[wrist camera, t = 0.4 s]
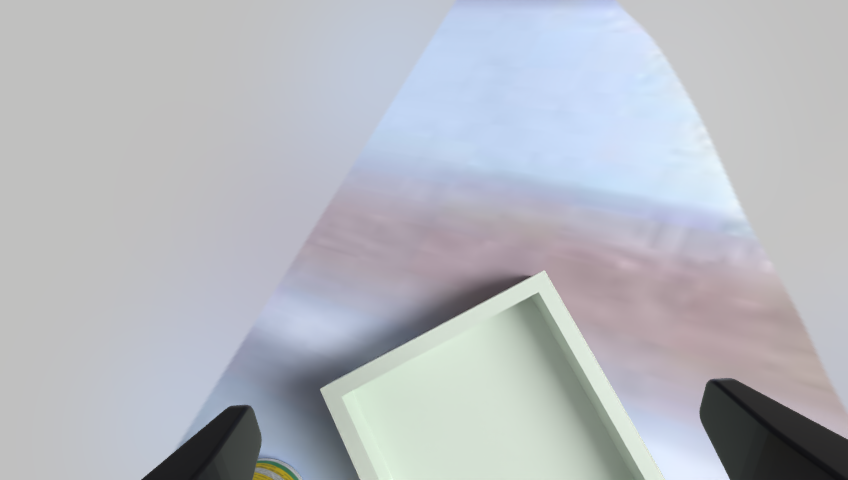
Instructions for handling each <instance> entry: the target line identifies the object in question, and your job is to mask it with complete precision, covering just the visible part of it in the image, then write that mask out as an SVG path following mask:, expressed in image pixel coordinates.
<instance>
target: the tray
mask: <svg viewBox="0 0 848 480" xmlns="http://www.w3.org/2000/svg"><path fill="white" fill-rule="evenodd" d="M320 391H321V393H322V395H323V397H324V400H325V402H326V404H327V406H328V409H329V411H330V413H331V415H332V418H333V420H334V422H335V424H336V427H337V429H338V431H339V433H340V436H341V438H342V440H343V442H344V445H345V447H346V449H347V451H348V454H349V456H350V458H351V460H352V463H353V465H354V467H355V469H356V472H357V474H358V476H359V478H360V480H665V479H664V477H663V475H662V473H661V472H660V470H659V468H658V466H657V465H656V463H655V461H654V459H653V458H652V456H651V454H650V453H649V451H648V449H647V447H646V446H645V444H644V442H643V440H642V439H641V437H640V435H639V433H638V432H637V430H636V428H635V426H634V425H633V423H632V421H631V420H630V418H629V416H628V414H627V413H626V411H625V409H624V407H623V406H622V404H621V402H620V400H619V399H618V397H617V395H616V394H615V392H614V390H613V388H612V387H611V385H610V383H609V381H608V380H607V378H606V376H605V374H604V373H603V371H602V369H601V367H600V366H599V364H598V362H597V361H596V359H595V357H594V355H593V354H592V352H591V350H590V348H589V347H588V345H587V343H586V341H585V340H584V338H583V336H582V335H581V333H580V331H579V329H578V328H577V326H576V324H575V322H574V321H573V319H572V317H571V315H570V314H569V312H568V310H567V308H566V307H565V305H564V303H563V302H562V300H561V298H560V296H559V295H558V293H557V291H556V289H555V288H554V286H553V284H552V282H551V281H550V279H549V277H548V276H547V274H546V272H545V270H544V271H542V272H540V273H537V274H535V275H533V276H531V277H529V278H527V279H525V280H523V281H521V282H519V283H517V284H516V285H514V286H512V287H510V288H508V289H506V290H504V291H502V292H500V293H498V294H497V295H495V296H493V297H491V298H489V299H487V300H485V301H483V302H481V303H480V304H478V305H476V306H474V307H472V308H470V309H468V310H466V311H464V312H462V313H461V314H459V315H457V316H455V317H453V318H451V319H449V320H447V321H445V322H444V323H442V324H440V325H438V326H436V327H434V328H432V329H430V330H428V331H426V332H425V333H423V334H421V335H419V336H417V337H415V338H413V339H411V340H409V341H408V342H406V343H404V344H402V345H400V346H398V347H396V348H394V349H392V350H390V351H389V352H387V353H385V354H383V355H381V356H379V357H377V358H375V359H373V360H372V361H370V362H368V363H366V364H364V365H362V366H360V367H358V368H356V369H354V370H353V371H351V372H349V373H347V374H345V375H343V376H341V377H339V378H337V379H336V380H334V381H332V382H331V383H329V384H327V385H326V386H324V387H322V388H321V389H320Z"/></svg>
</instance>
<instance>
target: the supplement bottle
mask: <svg viewBox="0 0 848 480" xmlns="http://www.w3.org/2000/svg"><path fill="white" fill-rule="evenodd" d="M253 480H303V479H302V478H301V476H300V475H299V474H298V472H297V471H296V470H295V469H293V468H292V467H291V466H290V465H288V464H286V463H284V462H282V461H279V460H276V459H270V458H260V459H258V460H257V464H256V468H255V472H254V476H253Z"/></svg>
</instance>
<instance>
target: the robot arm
mask: <svg viewBox="0 0 848 480" xmlns="http://www.w3.org/2000/svg"><path fill="white" fill-rule="evenodd" d="M700 419H701V422H702V424H703V427H704V429H705V431H706V433H707V435H708V437H709V439H710V441H711V443H712V445H713V447H714V449H715V451H716V453H717V455H718V456H719V458H720V460H721V462H722V464H723V466H724V468H725V470H726V472H727V474H728V476H729V478H730V480H848V439H846V438H844V437H842V436H840V435H838V434H836V433H834V432H833V431H831V430H829V429H827V428H825V427H823V426H821V425H819V424H818V423H816V422H814V421H812V420H810V419H808V418H806V417H805V416H803V415H801V414H799V413H797V412H795V411H793V410H791V409H790V408H788V407H786V406H784V405H782V404H780V403H778V402H776V401H775V400H773V399H771V398H769V397H767V396H765V395H763V394H761V393H760V392H758V391H756V390H754V389H752V388H750V387H748V386H746V385H745V384H743V383H741V382H739V381H737V380H735V379H731V378H722V379H711V380H709V381H708V382H707V384H706V387H705V391H704V395H703V399H702V403H701V407H700ZM260 448H261V432H260V429H259V426H258V423H257V420H256V416H255V413H254V410H253V408H252V407H251V406H249V405H237V406H230V407H228V408H227V409H225V410H224V411H223V412H222V413H220V414H219V415H218V416H217V417H216V418H214V419H213V420H212V421H211V422H210V423H209V424H207V425H206V426H205V427H204V428H203V429H201V430H200V431H199V432H198V433H197V434H195V435H194V436H193V437H192V438H191V439H189V440H188V441H187V442H186V443H185V444H183V445H182V446H181V447H180V448H179V449H177V450H176V451H175V452H174V453H173V454H171V455H170V456H169V457H168V458H167V459H165V460H164V461H163V462H162V463H161V464H160V465H158V466H157V467H156V468H155V469H153V470H152V471H151V472H150V473H149V474H147V475H146V476H145V477H144V478H143V479H142V480H253V476H254V472H255V468H256V464H257V460H258V456H259V452H260Z"/></svg>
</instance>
